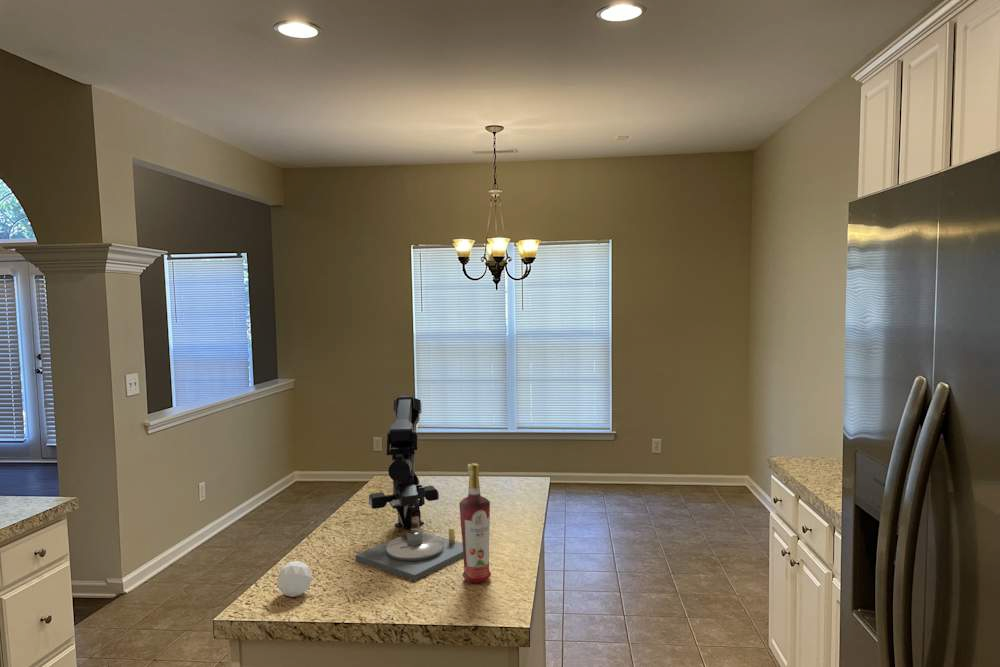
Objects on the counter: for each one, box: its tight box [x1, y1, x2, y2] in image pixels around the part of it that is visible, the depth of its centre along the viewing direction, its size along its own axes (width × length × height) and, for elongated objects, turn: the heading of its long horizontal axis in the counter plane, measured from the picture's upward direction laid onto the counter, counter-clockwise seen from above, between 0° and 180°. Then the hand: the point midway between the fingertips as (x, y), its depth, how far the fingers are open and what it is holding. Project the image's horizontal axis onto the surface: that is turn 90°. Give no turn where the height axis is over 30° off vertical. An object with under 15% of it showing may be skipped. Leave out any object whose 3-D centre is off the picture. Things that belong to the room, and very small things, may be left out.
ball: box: [276, 560, 313, 598], centre depth 150 cm, size 8×8×8 cm
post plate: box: [355, 526, 464, 582], centre depth 171 cm, size 22×22×6 cm
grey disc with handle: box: [386, 517, 444, 561], centre depth 173 cm, size 20×15×5 cm
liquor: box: [459, 462, 492, 585], centre depth 154 cm, size 7×7×28 cm
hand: (404, 527), depth 180 cm, fingers closed
